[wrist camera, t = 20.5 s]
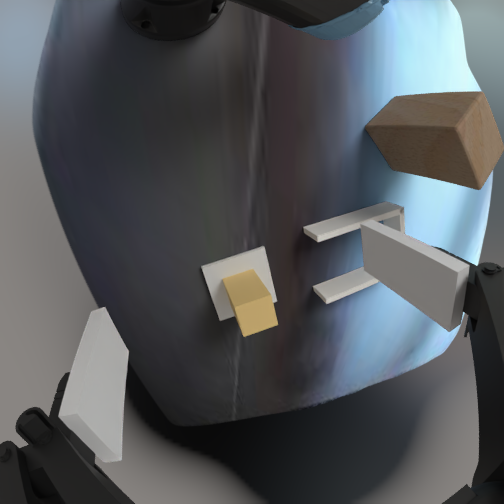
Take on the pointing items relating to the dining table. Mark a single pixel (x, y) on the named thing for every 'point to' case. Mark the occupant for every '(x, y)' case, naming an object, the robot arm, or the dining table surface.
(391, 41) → the dining table surface
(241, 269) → the tile
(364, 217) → the white u-shaped frame
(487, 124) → the wooden block
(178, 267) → the dining table surface
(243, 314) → the block
